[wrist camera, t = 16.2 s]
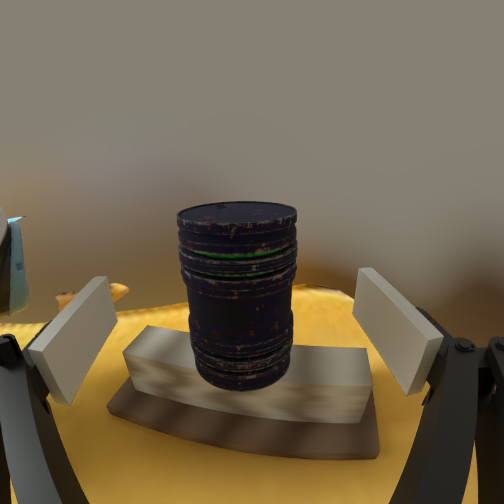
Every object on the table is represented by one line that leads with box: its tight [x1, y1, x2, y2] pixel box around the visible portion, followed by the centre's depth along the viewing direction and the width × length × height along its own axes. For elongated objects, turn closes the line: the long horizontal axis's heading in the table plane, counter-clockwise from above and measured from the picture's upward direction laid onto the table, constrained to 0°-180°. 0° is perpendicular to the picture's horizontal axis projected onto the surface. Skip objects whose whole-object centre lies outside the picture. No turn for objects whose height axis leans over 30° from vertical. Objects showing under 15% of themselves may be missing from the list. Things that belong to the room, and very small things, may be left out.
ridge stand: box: [106, 325, 380, 460], centre depth 29 cm, size 30×14×8 cm, turn 78°
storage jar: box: [177, 201, 297, 392], centre depth 25 cm, size 10×10×15 cm
